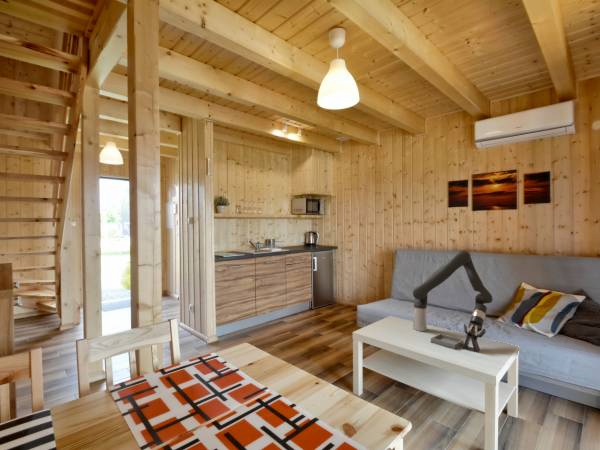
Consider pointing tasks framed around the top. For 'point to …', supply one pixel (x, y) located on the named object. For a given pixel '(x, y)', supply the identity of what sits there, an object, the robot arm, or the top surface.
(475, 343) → the phone stand
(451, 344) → the tray
